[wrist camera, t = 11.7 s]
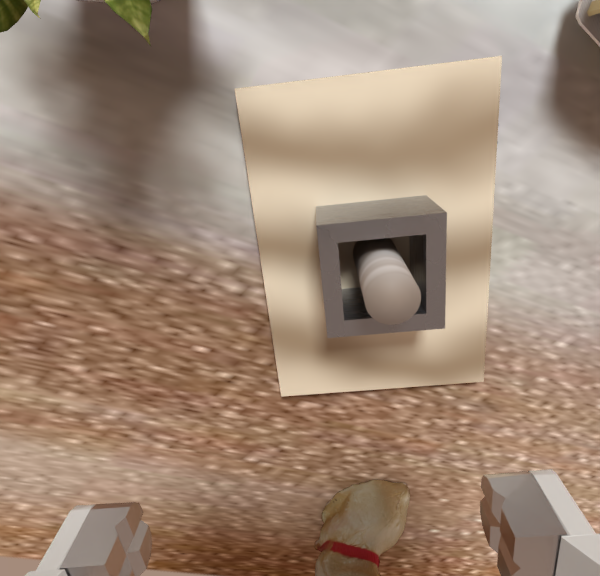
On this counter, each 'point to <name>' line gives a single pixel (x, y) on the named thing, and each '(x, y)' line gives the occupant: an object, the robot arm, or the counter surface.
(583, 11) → the stacked food containers
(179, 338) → the counter surface
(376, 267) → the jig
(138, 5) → the house plant
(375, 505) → the chocolate bunny
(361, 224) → the hollow square tube
